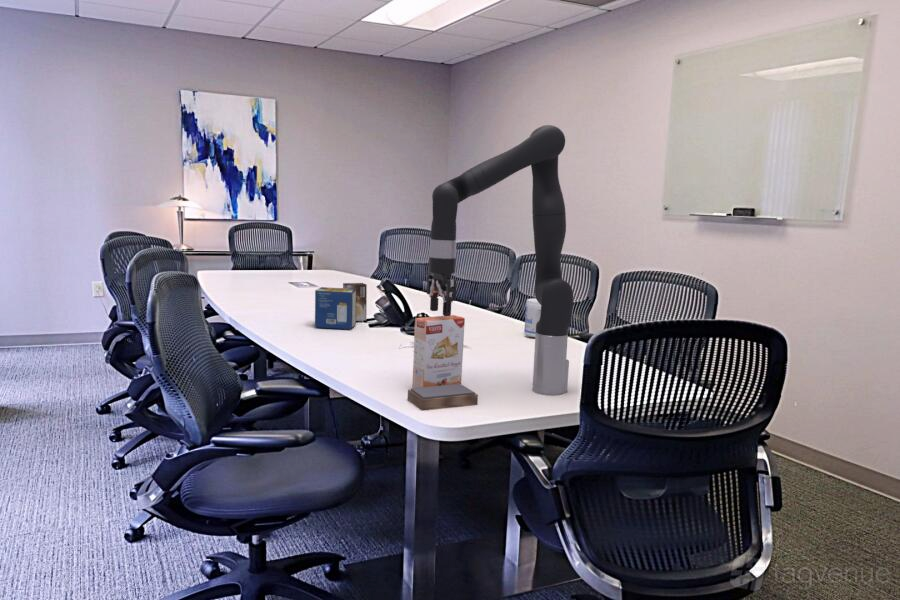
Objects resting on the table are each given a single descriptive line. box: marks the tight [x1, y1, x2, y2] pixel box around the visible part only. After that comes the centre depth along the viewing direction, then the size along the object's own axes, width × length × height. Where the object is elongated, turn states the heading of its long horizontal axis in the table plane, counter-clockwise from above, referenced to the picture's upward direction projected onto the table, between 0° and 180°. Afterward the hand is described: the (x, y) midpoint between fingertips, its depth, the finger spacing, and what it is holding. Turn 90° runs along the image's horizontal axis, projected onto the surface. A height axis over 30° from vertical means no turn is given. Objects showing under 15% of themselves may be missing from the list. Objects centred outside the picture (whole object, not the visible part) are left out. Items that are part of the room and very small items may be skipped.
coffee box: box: [342, 282, 368, 322], centre depth 300 cm, size 9×6×16 cm
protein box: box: [314, 286, 357, 330], centre depth 284 cm, size 10×15×16 cm
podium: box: [407, 383, 479, 411], centre depth 183 cm, size 16×10×4 cm, turn 116°
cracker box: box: [412, 314, 466, 388], centre depth 195 cm, size 14×6×21 cm, turn 129°
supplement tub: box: [523, 298, 541, 338], centre depth 280 cm, size 10×10×15 cm
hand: (440, 313), depth 193 cm, fingers open, 8 cm apart
